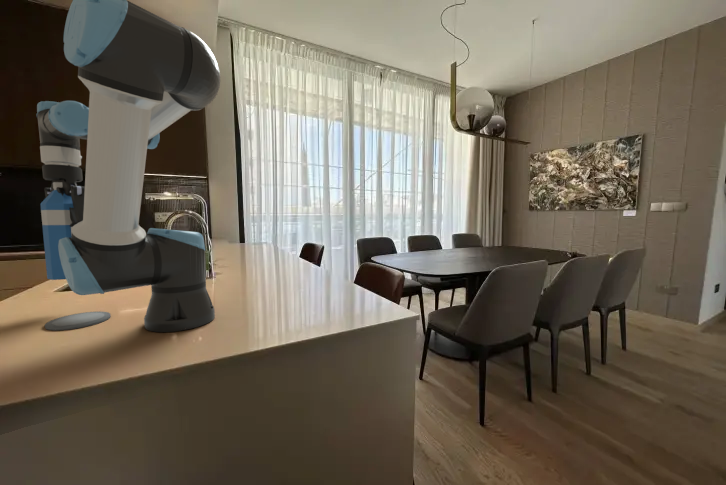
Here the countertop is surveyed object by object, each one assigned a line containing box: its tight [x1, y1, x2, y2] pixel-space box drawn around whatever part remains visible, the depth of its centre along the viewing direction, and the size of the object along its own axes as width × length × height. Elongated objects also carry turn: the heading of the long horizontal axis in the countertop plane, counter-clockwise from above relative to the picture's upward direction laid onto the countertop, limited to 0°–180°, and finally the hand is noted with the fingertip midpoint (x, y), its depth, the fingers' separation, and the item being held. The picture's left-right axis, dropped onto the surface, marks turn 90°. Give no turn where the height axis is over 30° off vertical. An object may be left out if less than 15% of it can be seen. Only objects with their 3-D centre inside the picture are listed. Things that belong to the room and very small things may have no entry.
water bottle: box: [40, 182, 74, 281], centre depth 82 cm, size 9×9×25 cm
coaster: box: [44, 310, 111, 332], centre depth 76 cm, size 12×12×1 cm
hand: (69, 250), depth 82 cm, fingers closed on water bottle, 9 cm apart
